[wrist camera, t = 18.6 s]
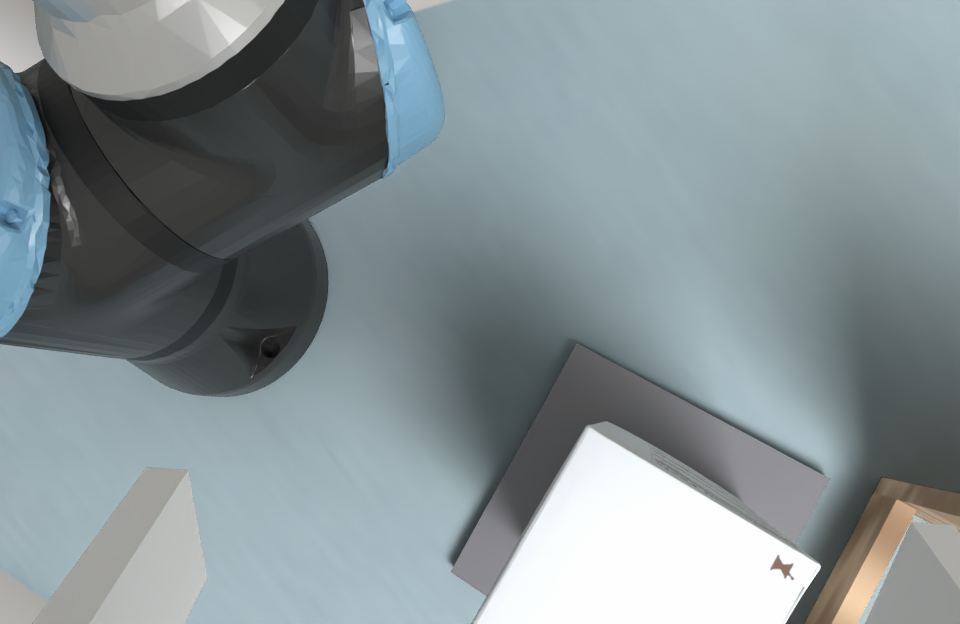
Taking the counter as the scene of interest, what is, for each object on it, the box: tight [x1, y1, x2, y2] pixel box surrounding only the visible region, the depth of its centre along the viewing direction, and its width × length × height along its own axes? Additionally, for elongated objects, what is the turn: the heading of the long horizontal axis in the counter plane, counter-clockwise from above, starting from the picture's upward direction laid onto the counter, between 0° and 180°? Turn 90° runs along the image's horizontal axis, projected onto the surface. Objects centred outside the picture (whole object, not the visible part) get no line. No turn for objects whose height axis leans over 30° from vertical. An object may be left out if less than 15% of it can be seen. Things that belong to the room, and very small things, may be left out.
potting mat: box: [451, 343, 830, 596], centre depth 40 cm, size 16×16×1 cm
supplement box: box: [471, 421, 821, 624], centre depth 32 cm, size 10×9×17 cm
